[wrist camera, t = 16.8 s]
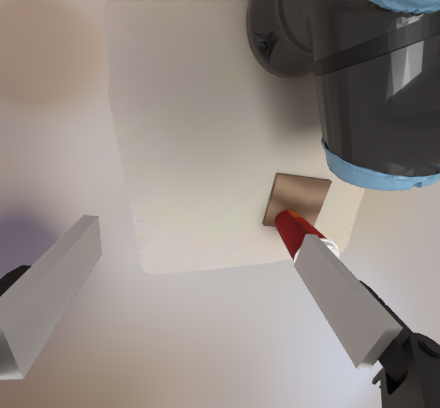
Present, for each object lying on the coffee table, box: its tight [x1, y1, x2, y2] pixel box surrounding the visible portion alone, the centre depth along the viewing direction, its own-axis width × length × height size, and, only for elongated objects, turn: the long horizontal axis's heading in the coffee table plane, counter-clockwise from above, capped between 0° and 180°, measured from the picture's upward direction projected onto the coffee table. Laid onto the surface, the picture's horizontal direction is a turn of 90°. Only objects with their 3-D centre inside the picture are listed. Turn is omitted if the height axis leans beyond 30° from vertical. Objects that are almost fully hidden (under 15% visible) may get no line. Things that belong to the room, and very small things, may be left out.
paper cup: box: [275, 209, 340, 263], centre depth 40 cm, size 8×8×14 cm
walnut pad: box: [263, 173, 332, 227], centre depth 45 cm, size 12×12×1 cm
